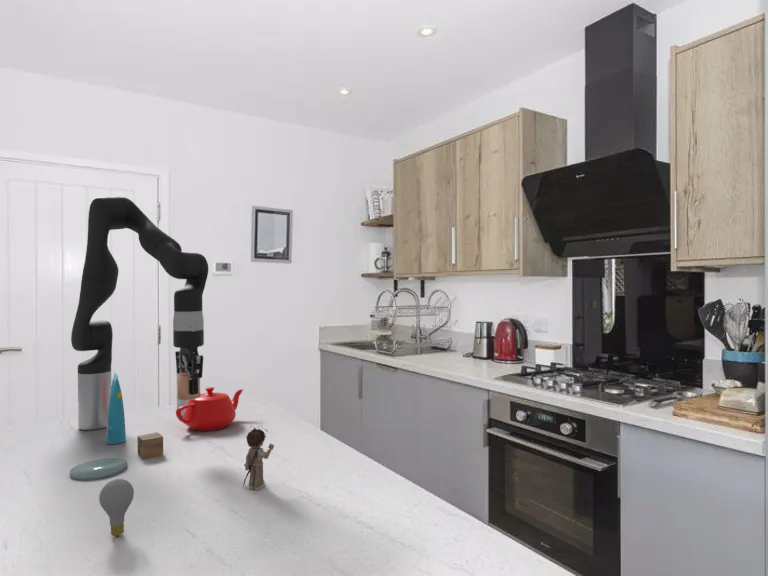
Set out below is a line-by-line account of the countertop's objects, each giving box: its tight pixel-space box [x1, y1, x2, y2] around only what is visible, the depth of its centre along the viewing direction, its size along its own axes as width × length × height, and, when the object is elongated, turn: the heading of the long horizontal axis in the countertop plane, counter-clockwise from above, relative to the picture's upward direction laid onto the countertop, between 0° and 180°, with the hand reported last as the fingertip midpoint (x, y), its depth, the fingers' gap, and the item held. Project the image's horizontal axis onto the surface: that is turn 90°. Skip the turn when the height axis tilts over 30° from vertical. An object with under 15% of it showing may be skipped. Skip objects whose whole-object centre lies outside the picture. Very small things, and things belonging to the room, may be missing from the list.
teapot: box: [175, 386, 244, 432], centre depth 162 cm, size 25×16×12 cm, turn 145°
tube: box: [106, 372, 127, 445], centre depth 146 cm, size 7×5×19 cm, turn 39°
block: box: [137, 431, 164, 460], centre depth 134 cm, size 5×5×5 cm
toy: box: [242, 419, 275, 491], centre depth 113 cm, size 6×6×15 cm
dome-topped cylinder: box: [176, 372, 201, 400], centre depth 135 cm, size 6×6×7 cm
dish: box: [69, 457, 128, 481], centre depth 123 cm, size 12×12×1 cm
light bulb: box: [98, 478, 135, 538], centre depth 91 cm, size 6×5×10 cm
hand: (189, 392), depth 135 cm, fingers closed on dome-topped cylinder, 5 cm apart
